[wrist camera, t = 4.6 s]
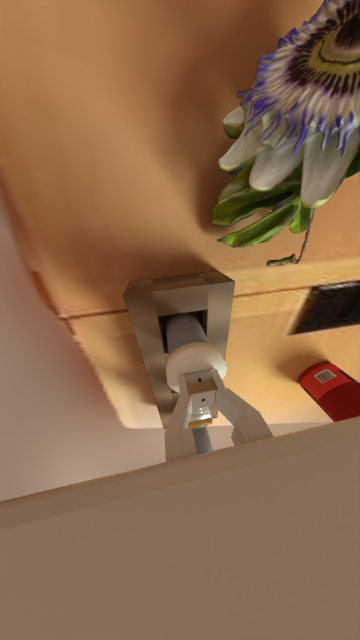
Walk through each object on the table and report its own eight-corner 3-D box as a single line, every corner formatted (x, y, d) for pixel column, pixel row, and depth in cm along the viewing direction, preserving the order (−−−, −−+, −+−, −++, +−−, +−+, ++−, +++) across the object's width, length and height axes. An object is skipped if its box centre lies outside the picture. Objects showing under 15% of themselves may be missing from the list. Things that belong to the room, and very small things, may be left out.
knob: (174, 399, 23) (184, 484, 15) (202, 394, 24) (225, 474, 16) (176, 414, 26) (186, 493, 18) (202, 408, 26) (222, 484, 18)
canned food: (290, 384, 33) (343, 444, 24) (313, 360, 29) (387, 419, 20) (314, 384, 35) (372, 440, 26) (339, 361, 31) (418, 416, 22)
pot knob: (174, 369, 19) (182, 421, 14) (197, 365, 20) (214, 414, 14) (176, 383, 21) (184, 435, 16) (197, 379, 21) (212, 428, 16)
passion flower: (226, 145, 15) (511, -324, 4) (280, 228, 18) (521, 85, 7) (163, 205, 12) (674, -1090, 1) (242, 293, 15) (568, 207, 4)
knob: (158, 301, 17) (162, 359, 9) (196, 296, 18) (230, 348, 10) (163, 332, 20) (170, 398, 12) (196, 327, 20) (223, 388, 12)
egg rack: (129, 281, 16) (123, 295, 12) (218, 271, 17) (235, 281, 13) (162, 406, 30) (164, 429, 26) (210, 397, 30) (217, 417, 27)
